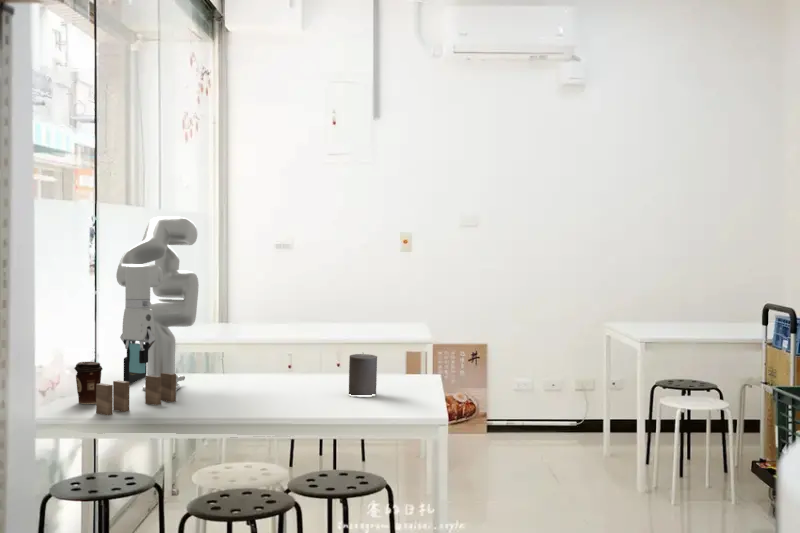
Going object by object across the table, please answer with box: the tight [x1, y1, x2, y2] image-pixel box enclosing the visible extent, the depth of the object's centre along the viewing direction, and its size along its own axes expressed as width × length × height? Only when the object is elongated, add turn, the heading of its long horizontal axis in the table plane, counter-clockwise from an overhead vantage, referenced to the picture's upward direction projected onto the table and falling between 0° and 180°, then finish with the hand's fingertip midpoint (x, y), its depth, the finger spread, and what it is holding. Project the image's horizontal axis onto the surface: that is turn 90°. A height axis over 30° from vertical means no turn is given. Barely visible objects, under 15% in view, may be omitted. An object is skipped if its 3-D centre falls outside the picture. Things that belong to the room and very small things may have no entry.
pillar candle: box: [348, 353, 378, 395], centre depth 308 cm, size 10×10×15 cm
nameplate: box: [123, 356, 147, 386], centre depth 331 cm, size 21×2×10 cm, turn 179°
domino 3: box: [144, 374, 162, 406], centre depth 288 cm, size 2×5×9 cm, turn 58°
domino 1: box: [112, 379, 130, 413], centre depth 277 cm, size 2×5×9 cm, turn 58°
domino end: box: [161, 373, 177, 403], centre depth 293 cm, size 2×5×9 cm, turn 58°
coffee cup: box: [73, 361, 103, 405], centre depth 288 cm, size 9×8×13 cm
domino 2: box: [129, 342, 145, 373], centre depth 281 cm, size 2×5×9 cm, turn 58°
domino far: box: [95, 382, 114, 416], centre depth 271 cm, size 2×5×9 cm, turn 58°
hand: (137, 361), depth 281 cm, fingers closed on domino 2, 4 cm apart
